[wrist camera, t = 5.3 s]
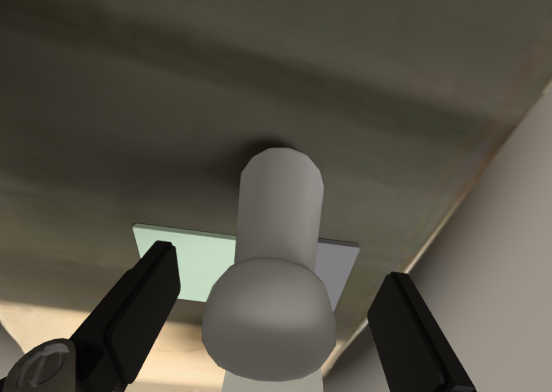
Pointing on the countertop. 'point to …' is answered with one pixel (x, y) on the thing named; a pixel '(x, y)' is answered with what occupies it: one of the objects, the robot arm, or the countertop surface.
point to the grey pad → (334, 265)
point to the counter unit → (273, 384)
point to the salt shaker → (273, 276)
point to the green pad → (192, 256)
